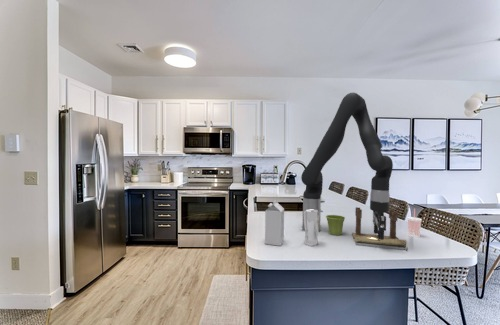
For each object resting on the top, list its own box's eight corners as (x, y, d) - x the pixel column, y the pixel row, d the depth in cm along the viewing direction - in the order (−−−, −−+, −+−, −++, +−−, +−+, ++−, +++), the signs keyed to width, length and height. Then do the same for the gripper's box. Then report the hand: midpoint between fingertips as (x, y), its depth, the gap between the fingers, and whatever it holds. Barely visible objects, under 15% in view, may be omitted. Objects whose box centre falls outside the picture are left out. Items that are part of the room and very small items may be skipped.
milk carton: (283, 241, 110) (284, 200, 110) (280, 246, 103) (281, 202, 103) (268, 239, 112) (269, 199, 112) (264, 244, 105) (265, 201, 105)
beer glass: (310, 247, 102) (311, 212, 102) (300, 242, 108) (300, 209, 108) (322, 245, 105) (323, 211, 105) (311, 240, 111) (312, 208, 111)
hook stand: (353, 239, 114) (353, 209, 114) (351, 234, 121) (352, 206, 120) (401, 243, 108) (401, 212, 108) (396, 239, 115) (397, 209, 115)
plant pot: (321, 231, 125) (322, 215, 125) (336, 230, 128) (336, 214, 128) (333, 237, 116) (334, 219, 116) (349, 235, 120) (349, 218, 120)
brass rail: (355, 242, 107) (355, 236, 107) (354, 240, 110) (354, 234, 110) (406, 248, 101) (406, 241, 101) (404, 245, 104) (404, 239, 104)
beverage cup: (415, 238, 116) (415, 209, 116) (403, 234, 122) (404, 207, 122) (424, 237, 118) (425, 209, 118) (413, 233, 124) (413, 207, 124)
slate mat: (355, 245, 106) (355, 243, 106) (354, 240, 111) (354, 239, 111) (407, 250, 100) (407, 249, 100) (402, 245, 106) (402, 244, 106)
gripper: (367, 197, 113) (366, 230, 114) (373, 201, 100) (372, 240, 100) (385, 198, 111) (384, 232, 111) (393, 203, 98) (392, 242, 98)
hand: (378, 236), depth 106 cm, fingers open, 8 cm apart
